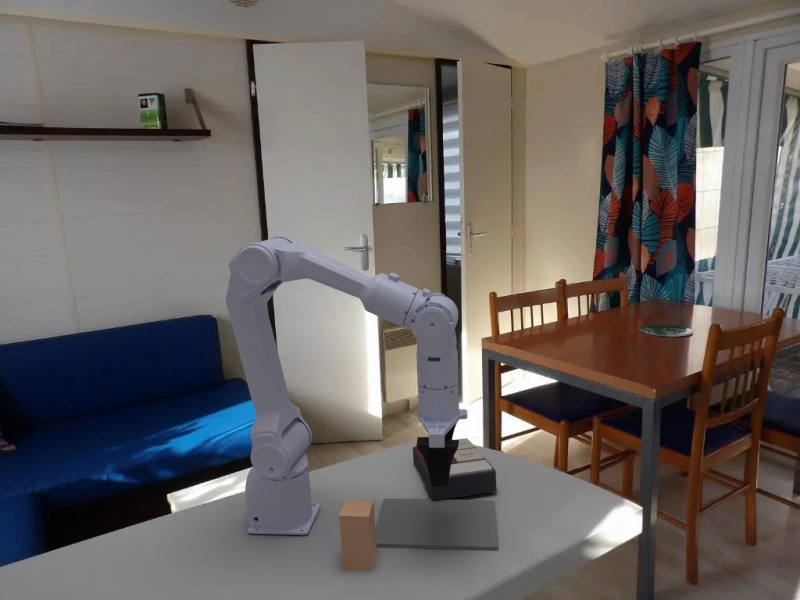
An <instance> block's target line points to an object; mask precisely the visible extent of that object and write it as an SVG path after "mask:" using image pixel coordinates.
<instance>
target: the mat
mask: <svg viewBox="0 0 800 600" xmlns="http://www.w3.org/2000/svg"><path fill="white" fill-rule="evenodd" d="M496 514H497V511H496V501H495V500H494V499H493V500H491V499H441V500H432V499H430V498H429V499H428V498H427V499H425V498H423V499H422V498H383V499H382V503H381V506H380V510H379V513H378V515H377V516H378V518H377V521H376V523H375V529H376V544H377V548H403V549H404V548H406V549H407V548H408V549H411V548H412V549H439V550H440V549H441V550H442V549H445V550H476V551H478V550H479V551H480V550H484V551H485V550H486V551H499V545H498V544H499V543H498V530H497V517H496Z"/></svg>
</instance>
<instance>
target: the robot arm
mask: <svg viewBox="0 0 800 600" xmlns="http://www.w3.org/2000/svg"><path fill="white" fill-rule="evenodd" d="M228 268H229V272H230V276H229V281H228V287H227V291H226V296H225V304H226V305H225V306H226V309H227V312H228V316H229V321H230V323H231V327H232V330H233V331H232V332H233V334H234V335H233V336H234V338H235V341H236V346H237V350H238V354H239V357H240V360H241V364H242V369H243V372H244V373H243V374H244V376H245V380H246V384H247V387H248V391H249V394H250V399H251V402H252V405H253V410H254V414H255V416H254V419H253V420H254V421H253V423H252V427H251V431H250V434H249V435H250V440H251V445H252V447H251V452H250V461H251V462H250V463H251V464H252V467H251V468H250V470H249V471H248V474H247V475H246V480H245V486H244V487H245V489H244V492H245V493H244V494H245V502H246V511H247V519H248V521H247V522H248V528H247V530H246V531H247V534H250V535H252V534H255V535H285V536H287V535H291V536H294V535H295V536H306V535H308V534H309V533H310V530H311V528H312V526H313V524H314V521H315V519H316V518H317V515H318V513H319V511H320V509H321V504H320V503H312V492H311V481H310V479H311V478H310V470H309V461H308V457H307V449H308V448H309V447H310V446H311V444H312V440H313V434H312V430H311V428H310V426H309V425H308V423H307V422H306V421H305V419H304V418H303V416H302V412H301V409H300V407H298V406H296V405H295V404H294V403H292V401H291V399H290V394H289V389H288V387H287V384H286V383H287V382H286V378H285V375H284V370H283V367H282V363H281V359H280V356H279V352H278V349H277V344H276V339H275V337H274V331H273V327H272V324H271V321H270V317H269V312H268V308H267V303H268V301H269V300H270V299H271V298H272V296H273V295H274V294H275V292H276V290H277V289H278V288H279V286H281V285H282V284H283V283H288V282H292V281H301V280H305V279H308V280H311V281H313V282H316V283H318V284H321V285H324V286H326V287H330V288H332V289H335V290H336V291H337V290H338V291H339V292H341V293H344V294H348V295H350V296H353V297H355V298H357V299H359V300H360V302H361V303H362V305H363V308H364V310H365V311H366V312H368V313H370V314H373V315H374V316H376V317H379V318H381V319H384V320H385V321H388V322H390V323H391V324H394V325H397V326H399V327H401V328H404V329H405V330H411V333H412V335H413V336H414V338H415V339H416V357H415V358H416V376H417V377H416V379H417V395H418V396H417V399H418V401H417V403H418V410H417V412H416V413H417V420H418V421H419V423H420V425H422V427H423V428H424V430H425V432H426V433H427V435H428V436H417V437H416V445H417V448H418V450H419V451H420V453H421V454H422V456H423V458H424V460H425V462H426V465H427V469H428V473H429V477H430V481H431V484H432V486H433V487H447V485H448V481H449V476H450V468H451V463H452V459H453V457H454V455H455V453H456V451H457V449H458V446H459V440H456V439H453V437H454V433H455V429H456V426H457V424H458V422H459V421H460V420H467V419H468V409H465V408H460V398H459V397H460V395H459V391H460V390H459V388H460V387H459V359H458V357H459V355H458V354H459V353H458V349H457V342H458V340H457V337H456V336H457V335H456V326H457V324H458V321H459V310H458V306H457V305H456V303H455V302H454V301H453V300H452V299H451V298H450V297H448V296H446V294H444V293H440V292H439V293H438V292H437V293H432V294H431V290H430V289H428V288H425V287H424V288H423V290H422V289H420V288H418V287H415V286H413V285H410V284H409V283H405V282H404V281H401V280H399V279H400V275H399V274H397V273H394V272H390V273H389V274H388V275H387V274H385V273H382V272H381V273H378V274H376V275H374V276H368V275H367V274H364V273H362V272H360V271H358V270H357V269H354V268H352V267H350V266H349V265H346V264H344V263H342V262H340V261H338V260H336V259H335V258H332V257H331V256H328V255H326V254H324V253H322V252H320V251H318V250H316V249H314V248H312V247H311V246H309V245H307V244H305V243H303V242H300V241H293V240H292V239H291V238H288V237H286V236H281V235H280V236H278V235H277V236H273V237H271V238H269V239H266V240H265V239H264V240H261V241H257V242H249V243H246V244H244V245H243V246H241V247H240V248H239V249H238V251H237V252H236V253H235V255H234V256H233V257H232V259H231V260H230V261H229V263H228Z"/></svg>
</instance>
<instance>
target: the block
mask: <svg viewBox="0 0 800 600" xmlns="http://www.w3.org/2000/svg"><path fill="white" fill-rule="evenodd" d="M374 505H375V502H374V500H373V499H344V503H343V504H342V507H341V510H340V512H339V515H338V519H339V520H338V522H339V533H340V542H341V543H340V545H341V555H342V556H341V557H342V569H343V570H360V571H373V569H374V565H375V560H376V557H377V553H378V547H377V544H376V529H375V527H376V515H375V506H374Z"/></svg>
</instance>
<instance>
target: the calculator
mask: <svg viewBox="0 0 800 600" xmlns="http://www.w3.org/2000/svg"><path fill="white" fill-rule="evenodd" d="M455 440H459V446H458V449H457V451H456V453H455V455H454V457H453V459H452V463H451V468H450V476H449V481H448V485H447V487H433V486H432V484H431V481H430V477H429V473H428V469H427V465H426V462H425V460H424V458H423V456H422V454H421V453H420V451H419V450H418V448H417V444H415V446H413V447H412V461H413V463H414V466H415V468H416V470H417V472H418V474H419V475H420V477H421V479H422V482H424V484H425V487H426V491H427V494H428V495H429V497H430V498H431V499H432V500H449V499H453V498H460V497H467V496H473V495H474V496H475V495H482V494H488V493H495V492H496V491H497V470H496V469H495V468H494V467H493V466H492V464H491V463H489V461H488V460H487V459H486V458H485V457H484V455H483V454H482V453H481V452H480V451H479V450H478V448H477V447H476V446H475V445H474V444H473V443H472V442H471V441H470V440H469V438H459V439H455Z"/></svg>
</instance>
